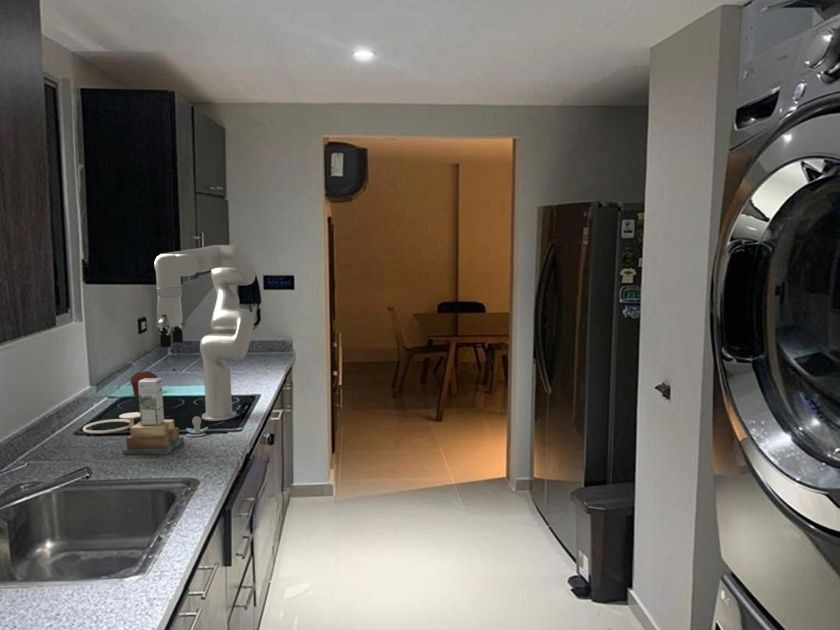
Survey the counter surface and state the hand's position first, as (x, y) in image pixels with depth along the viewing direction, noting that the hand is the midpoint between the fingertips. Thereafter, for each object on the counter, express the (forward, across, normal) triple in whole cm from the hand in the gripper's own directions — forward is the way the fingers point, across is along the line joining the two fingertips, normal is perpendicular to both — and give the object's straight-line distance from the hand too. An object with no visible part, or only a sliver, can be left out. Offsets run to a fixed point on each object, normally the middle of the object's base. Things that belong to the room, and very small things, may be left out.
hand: (172, 344), depth 233 cm
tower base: (+32, +9, -4) cm, 34 cm away
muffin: (+33, -68, -42) cm, 86 cm away
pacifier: (+33, -6, +4) cm, 33 cm away
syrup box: (+24, +9, -4) cm, 26 cm away
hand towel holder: (+33, -16, -30) cm, 47 cm away
